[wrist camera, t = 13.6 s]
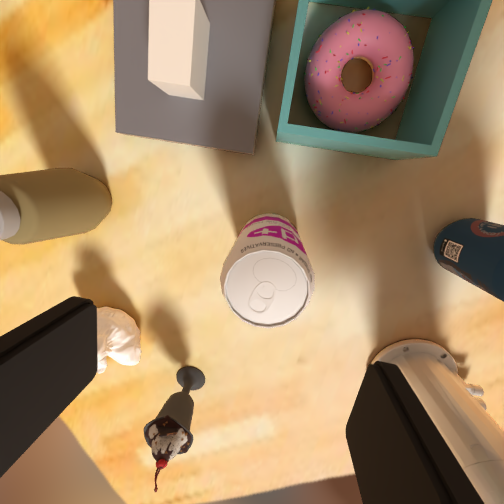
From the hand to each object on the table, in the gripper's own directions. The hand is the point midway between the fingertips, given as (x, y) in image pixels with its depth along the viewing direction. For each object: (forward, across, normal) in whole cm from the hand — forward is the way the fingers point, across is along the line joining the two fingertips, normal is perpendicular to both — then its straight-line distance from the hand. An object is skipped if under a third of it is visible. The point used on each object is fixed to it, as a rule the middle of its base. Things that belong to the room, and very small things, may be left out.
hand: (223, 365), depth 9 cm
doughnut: (+27, -6, -18) cm, 33 cm away
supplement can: (+27, -1, +2) cm, 27 cm away
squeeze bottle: (+26, +24, +1) cm, 36 cm away
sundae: (+27, +8, +28) cm, 40 cm away
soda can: (+28, -25, -2) cm, 37 cm away
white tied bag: (+27, +20, +20) cm, 39 cm away
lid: (+26, +12, -17) cm, 33 cm away
